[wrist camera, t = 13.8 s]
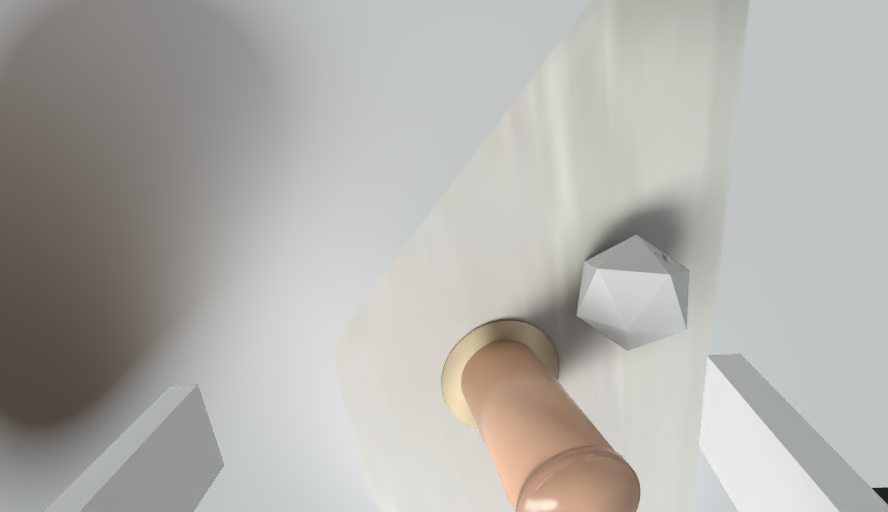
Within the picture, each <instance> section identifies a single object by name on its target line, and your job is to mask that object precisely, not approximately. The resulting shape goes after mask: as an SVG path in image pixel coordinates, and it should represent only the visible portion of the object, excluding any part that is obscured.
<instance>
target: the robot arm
mask: <svg viewBox="0 0 888 512" xmlns="http://www.w3.org/2000/svg"><path fill="white" fill-rule="evenodd" d="M699 448H700V450H701V451H702V452H703V454H704V456H705V458H706V459H707V461H708V463H709V464H710V466H711V467H712V469H713V471H714V472H715V474H716V476H717V477H718V479H719V481H720V482H721V484H722V485H723V487H724V489H725V490H726V492H727V494H728V495H729V497H730V498H731V500H732V502H733V503H734V505H735V506H736V508H737V510H738V511H739V512H888V488H871V487H870V486H869V485H868V484H867V483H866V482H865V481H864V480H863V479H862V478H861V477H860V476H859V475H858V474H857V473H856V472H855V471H854V470H853V469H852V468H851V467H850V466H849V465H848V464H847V463H846V462H845V460H843V459H842V457H840V456H839V454H838V453H837V452H836V451H835V450H834V449H833V448H832V447H831V446H830V445H829V444H828V443H827V442H826V441H825V440H824V439H823V438H822V437H821V436H820V435H819V434H818V433H817V432H816V431H815V430H814V429H813V428H812V427H811V426H810V425H809V424H808V423H807V422H806V421H805V420H804V419H803V418H802V416H801V415H800V414H799V413H797V411H796V410H795V409H794V408H793V407H792V406H791V405H790V404H789V403H788V402H787V401H786V400H785V399H784V398H783V397H782V396H781V395H780V394H779V393H778V392H777V391H776V390H775V389H774V388H773V387H772V386H771V385H770V384H769V383H768V382H767V381H766V380H765V379H764V378H763V377H762V376H761V374H760V373H759V372H758V371H757V370H756V369H755V368H754V367H752V365H751V364H750V363H749V362H748V361H747V360H746V359H745V358H744V357H743V356H742V355H741V354H731V355H711V356H707V363H706V374H705V385H704V396H703V407H702V418H701V429H700V440H699ZM223 466H224V463H223V460H222V457H221V454H220V451H219V448H218V445H217V441H216V438H215V435H214V432H213V429H212V426H211V423H210V420H209V417H208V414H207V411H206V408H205V405H204V402H203V399H202V396H201V393H200V390H199V387H198V384H189V385H171V386H170V387H169V388H168V389H167V390H166V391H165V392H164V393H163V394H162V395H161V396H160V397H159V398H158V399H157V400H156V401H155V402H154V403H153V404H152V405H151V406H150V407H149V408H148V409H147V410H146V411H145V412H144V413H143V414H142V415H141V416H140V417H139V418H138V419H137V420H136V421H135V422H134V423H133V424H132V425H131V426H130V427H128V428H127V429H126V430H125V431H124V432H123V433H122V435H121V436H119V437H118V438H117V439H116V440H115V442H113V443H112V444H111V445H110V446H109V447H108V448H107V449H106V451H104V452H103V453H102V454H101V455H100V456H99V457H98V458H97V459H96V460H95V461H94V462H93V463H92V464H91V465H90V466H89V467H88V468H87V469H86V470H85V471H84V472H83V473H82V474H81V475H80V476H79V477H78V478H77V479H76V480H75V481H74V482H73V483H72V484H71V485H70V486H69V487H68V488H67V489H66V490H65V491H64V492H63V493H62V494H61V495H60V496H59V497H58V498H57V499H56V500H55V501H54V502H53V503H52V504H51V505H50V506H49V507H48V508H47V509H46V510H45V511H44V512H193V511H194V510H195V508H196V507H197V505H198V504H199V502H200V501H201V499H202V498H203V496H204V494H205V493H206V492H207V490H208V489H209V487H210V486H211V484H212V483H213V481H214V480H215V478H216V477H217V475H218V474H219V472H220V471H221V469H222V468H223Z"/></svg>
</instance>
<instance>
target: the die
mask: <svg viewBox="0 0 888 512" xmlns="http://www.w3.org/2000/svg"><path fill="white" fill-rule="evenodd" d="M688 282H689V270H688V269H687V268H685V267H684V266H682V265H681V264H679V263H678V262H677V261H675V260H674V259H672V258H671V257H669V256H668V255H666V254H665V253H663V252H662V251H660V250H659V249H657V248H656V247H654V246H653V245H651V244H650V243H649V242H647V241H646V240H644V239H643V238H641V237H640V236H638V235H635V236H633V237H631V238H629V239H627V240H625V241H623V242H621V243H619V244H617V245H615V246H613V247H611V248H610V249H608V250H606V251H604V252H602V253H600V254H598V255H596V256H594V257H592V258H590V259H588V260H586V261H584V265H583V272H582V280H581V287H580V294H579V301H578V308H577V315H576V316H577V317H579V318H580V319H582V320H583V321H585V322H586V323H588V324H589V325H590V326H592V327H593V328H595V329H596V330H598V331H599V332H601V333H602V334H604V335H605V336H606V337H608V338H609V339H611V340H612V341H614V342H615V343H617V344H618V345H620V346H621V347H623V348H624V349H625V350H627V351H628V350H630V349H633V348H636V347H639V346H642V345H644V344H647V343H650V342H653V341H656V340H658V339H661V338H664V337H667V336H669V335H672V334H675V333H678V332H681V331H683V330H686V329H687V307H688Z"/></svg>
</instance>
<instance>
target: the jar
mask: <svg viewBox="0 0 888 512" xmlns="http://www.w3.org/2000/svg"><path fill="white" fill-rule="evenodd" d="M461 390H462V393H463V396H464V398H465V400H466V403H467V405H468V407H469V410H470V412H471V414H472V416H473V419H474V421H475V423H476V425H477V428H478V430H479V432H480V434H481V437H482V439H483V441H484V443H485V446H486V448H487V450H488V452H489V455H490V457H491V459H492V462H493V464H494V466H495V468H496V471H497V473H498V475H499V477H500V480H501V482H502V484H503V486H504V489H505V491H506V493H507V495H508V498H509V500H510V502H511V505H512V507H513V509H514V511H515V512H636V510H637V508H638V504H639V500H640V484H639V480H638V477H637V475H636V473H635V471H634V470H633V469H632V468H631V466H630V465H629V464H628V463H627V462H626V460H625V459H624V458H623V457H622V456H621V455H620V454H619V453H617V452H615V451H614V449H613V448H612V447H611V446H610V445H609V443H608V442H607V441H606V440H605V438H604V437H603V436H602V435H601V434H600V432H599V431H598V430H597V429H596V427H595V426H594V425H593V424H592V422H591V421H590V420H589V419H588V418H587V416H586V415H585V414H584V413H583V411H582V410H581V409H580V408H579V407H578V405H577V404H576V403H575V402H574V400H573V399H572V398H571V397H570V395H569V394H568V393H567V392H566V391H565V389H564V388H563V387H562V386H561V384H560V383H559V382H558V381H557V380H556V378H555V377H554V376H553V375H552V373H551V372H550V371H549V370H548V368H547V367H546V366H545V365H544V364H543V362H542V361H541V360H540V359H539V357H538V356H537V355H536V354H535V353H534V351H533V350H532V349H531V348H530V347H528V346H527V345H525V344H523V343H521V342H518V341H514V340H500V341H496V342H493V343H490V344H488V345H486V346H484V347H482V348H481V349H479V350H478V351H477V352H476V353H474V354H473V356H472V357H471V358H470V359H469V360H468V362H467V364H466V365H465V367H464V370H463V373H462V376H461Z"/></svg>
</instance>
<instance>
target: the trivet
mask: <svg viewBox="0 0 888 512" xmlns="http://www.w3.org/2000/svg"><path fill="white" fill-rule="evenodd" d="M500 340H514V341H518V342H521V343H523V344H525V345H527V346H528V347H530V348H531V349H532V350H533V351H534V353H535V354H536V355H537V356H538V357H539V359H540V360H541V361H542V362H543V364H544V365H545V366H546V367H547V368H548V370H549V371H550V372H551V373H552V375H553V376H554V377H555V378H556V380H558V375H559V360H558V356H557V352H556V350H555V347H554V346H553V344H552V342H551V341H550V340H549V338H548V337H547V336H546V335H545V334H544V333H543V332H542V331H541V330H539V329H538V328H536V327H534V326H532V325H530V324H528V323H525V322H521V321H515V320H503V321H496V322H492V323H488V324H486V325H483V326H481V327H479V328H477V329H475V330H473V331H472V332H470V333H469V334H467V335H466V336H465V337H464V338H462V339H461V340H460V341H459V342H458V344H457V345H456V346H455V347H454V348H453V350H452V351H451V353H450V354H449V356H448V358H447V360H446V362H445V365H444V368H443V372H442V378H441V388H442V394H443V397H444V400H445V403H446V405H447V407H448V409H449V410H450V412H451V413H452V414H453V415H454V416H455V417H456V418H457V419H458V420H459V421H460V422H462V423H463V424H465V425H467V426H469V427H472V428H475V429H478V428H477V425H476V423H475V421H474V419H473V416H472V414H471V412H470V410H469V407H468V405H467V403H466V400H465V398H464V396H463V393H462V390H461V376H462V373H463V370H464V367H465V365H466V364H467V362H468V360H469V359H470V358H471V357H472V356H473V354H474V353H476V352H477V351H478V350H479V349H481V348H482V347H484V346H486V345H488V344H490V343H493V342H496V341H500Z"/></svg>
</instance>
